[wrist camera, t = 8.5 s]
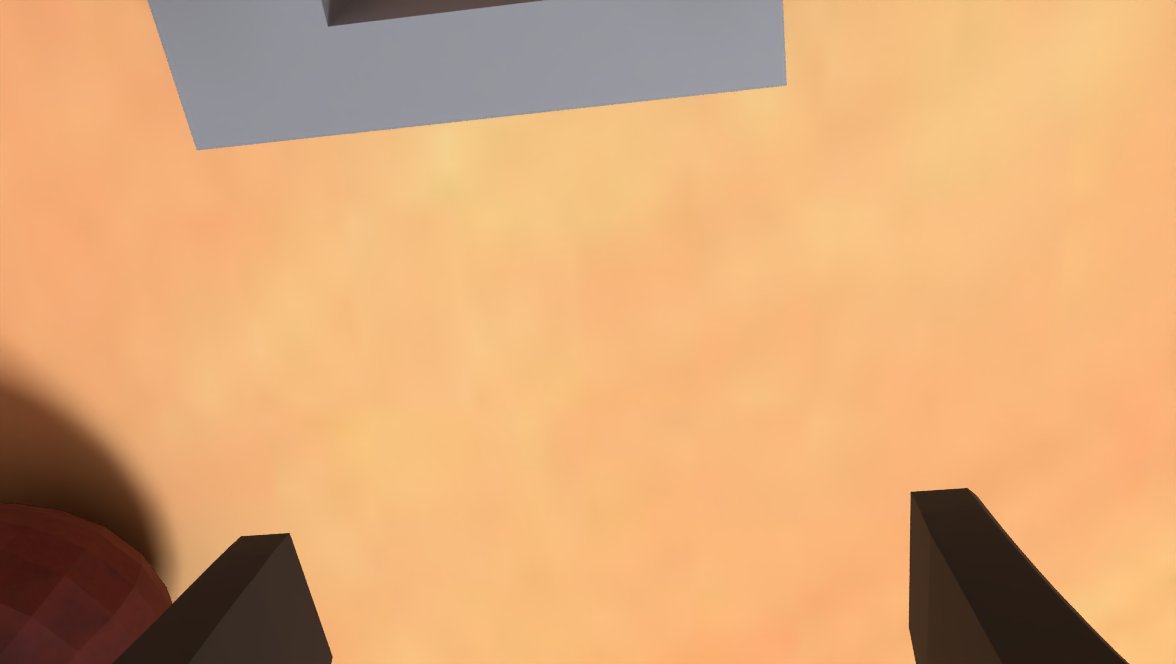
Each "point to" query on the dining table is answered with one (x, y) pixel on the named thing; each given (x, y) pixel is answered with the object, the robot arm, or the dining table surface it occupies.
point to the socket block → (449, 59)
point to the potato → (70, 589)
